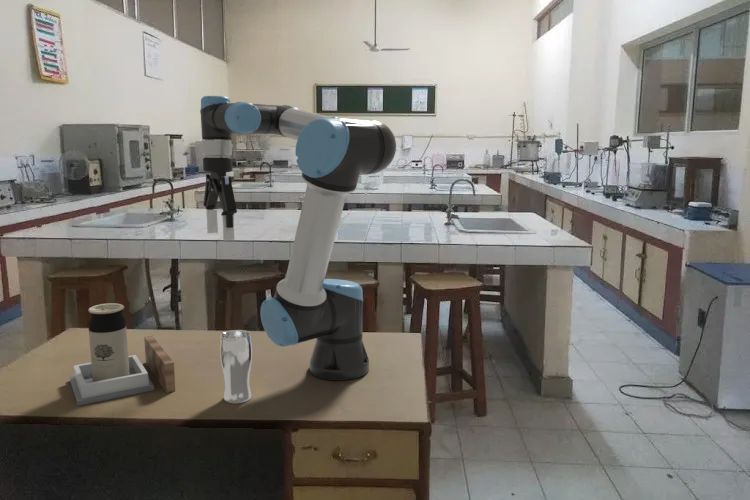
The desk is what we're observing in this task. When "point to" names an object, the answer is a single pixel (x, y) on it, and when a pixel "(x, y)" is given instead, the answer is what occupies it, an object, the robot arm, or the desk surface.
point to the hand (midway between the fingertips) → (220, 236)
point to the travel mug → (108, 342)
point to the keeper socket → (109, 383)
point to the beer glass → (236, 364)
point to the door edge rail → (160, 364)
